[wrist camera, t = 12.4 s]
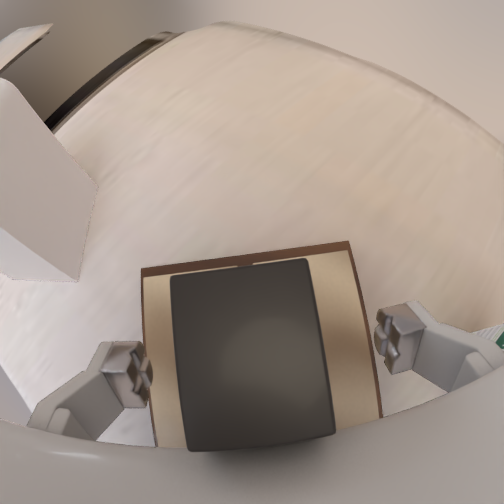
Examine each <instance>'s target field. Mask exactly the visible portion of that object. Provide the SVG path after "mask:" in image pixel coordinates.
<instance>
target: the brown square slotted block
mask: <svg viewBox="0 0 504 504" xmlns="http://www.w3.org/2000/svg"><path fill="white" fill-rule="evenodd" d="M298 258H306V259H307V260H308V262H309V267H310V272H311V277H312V282H313V287H314V292H315V297H316V302H317V308H318V313H319V319H320V324H321V330H322V335H323V341H324V347H325V353H326V359H327V366H328V372H329V379H330V385H331V392H332V399H333V406H334V414H335V422H336V430H340V429H344V428H348V427H352V426H355V425H359V424H363V423H366V422H370V421H373V420H377V419H380V418H383V414H382V405H381V397H380V390H379V383H378V376H377V370H376V363H375V357H374V352H373V346H372V340H371V335H370V330H369V325H368V320H367V315H366V310H365V306H364V301H363V296H362V292H361V288H360V283H359V279H358V275H357V271H356V267H355V263H354V259H353V255H352V251H351V248H350V244H349V241H343V242H336V243H328V244H321V245H314V246H306V247H299V248H291V249H284V250H276V251H269V252H262V253H254V254H247V255H239V256H232V257H224V258H217V259H209V260H202V261H194V262H187V263H179V264H172V265H164V266H156V267H149V268H142V269H141V305H142V329H143V345H144V348H145V353H144V356H145V357H147V358H148V359H149V360H150V362H151V365H152V369H153V381H152V385H151V386H150V387H149V388H148V392H149V406H150V413H151V420H152V427H153V433H154V439H155V445H156V447H172V448H187V446H186V440H185V434H184V427H183V421H182V414H181V407H180V399H179V391H178V383H177V374H176V364H175V354H174V343H173V331H172V317H171V301H170V281H169V280H170V276H172V275H178V274H186V273H193V272H201V271H209V270H217V269H224V268H232V267H239V266H247V265H254V264H262V263H269V262H276V261H284V260H291V259H298Z"/></svg>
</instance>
